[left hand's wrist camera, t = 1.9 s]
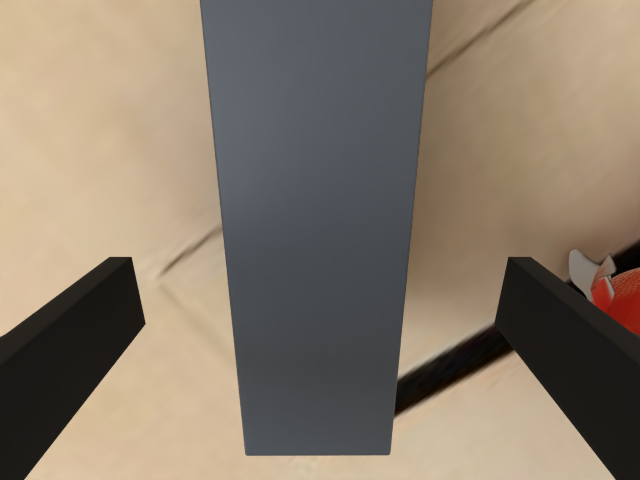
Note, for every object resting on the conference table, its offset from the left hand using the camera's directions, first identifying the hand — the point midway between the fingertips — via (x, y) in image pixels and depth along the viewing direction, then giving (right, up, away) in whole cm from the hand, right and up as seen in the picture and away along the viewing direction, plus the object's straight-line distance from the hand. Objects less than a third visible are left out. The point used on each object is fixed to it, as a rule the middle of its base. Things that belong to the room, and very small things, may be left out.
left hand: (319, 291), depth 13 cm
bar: (0, +9, +3) cm, 10 cm away
